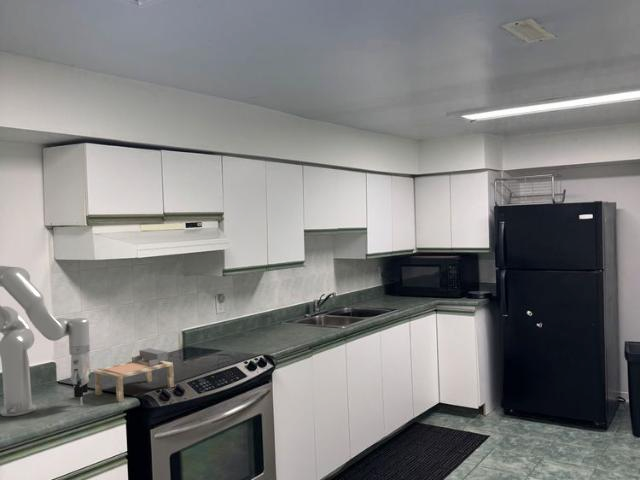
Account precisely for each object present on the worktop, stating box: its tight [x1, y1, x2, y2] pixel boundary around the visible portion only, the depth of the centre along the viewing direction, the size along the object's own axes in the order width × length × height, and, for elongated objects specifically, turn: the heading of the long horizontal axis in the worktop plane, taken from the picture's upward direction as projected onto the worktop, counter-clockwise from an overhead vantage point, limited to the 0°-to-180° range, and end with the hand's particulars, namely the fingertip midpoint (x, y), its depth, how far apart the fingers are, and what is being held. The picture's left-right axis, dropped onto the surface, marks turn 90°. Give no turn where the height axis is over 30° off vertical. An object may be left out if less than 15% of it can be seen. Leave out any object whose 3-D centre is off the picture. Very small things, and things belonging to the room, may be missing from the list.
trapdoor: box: [105, 347, 168, 375], centre depth 255 cm, size 22×14×6 cm, turn 139°
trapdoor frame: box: [93, 359, 175, 403], centre depth 254 cm, size 26×19×10 cm
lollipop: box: [70, 371, 91, 406], centre depth 235 cm, size 7×7×15 cm
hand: (81, 394), depth 235 cm, fingers closed on lollipop, 5 cm apart
